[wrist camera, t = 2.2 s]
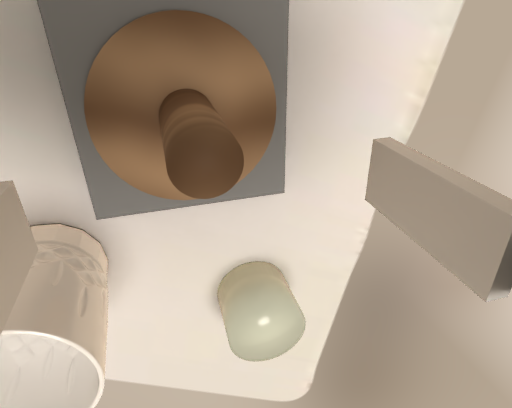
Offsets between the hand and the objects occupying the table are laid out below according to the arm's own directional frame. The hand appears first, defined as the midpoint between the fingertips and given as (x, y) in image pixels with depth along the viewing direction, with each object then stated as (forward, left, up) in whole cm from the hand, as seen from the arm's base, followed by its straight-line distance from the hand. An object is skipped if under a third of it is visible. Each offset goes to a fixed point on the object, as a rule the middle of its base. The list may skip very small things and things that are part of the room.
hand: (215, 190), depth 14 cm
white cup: (+10, -10, -11) cm, 18 cm away
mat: (0, 0, -11) cm, 11 cm away
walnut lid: (0, 0, -10) cm, 10 cm away
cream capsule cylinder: (+16, +4, -11) cm, 20 cm away
